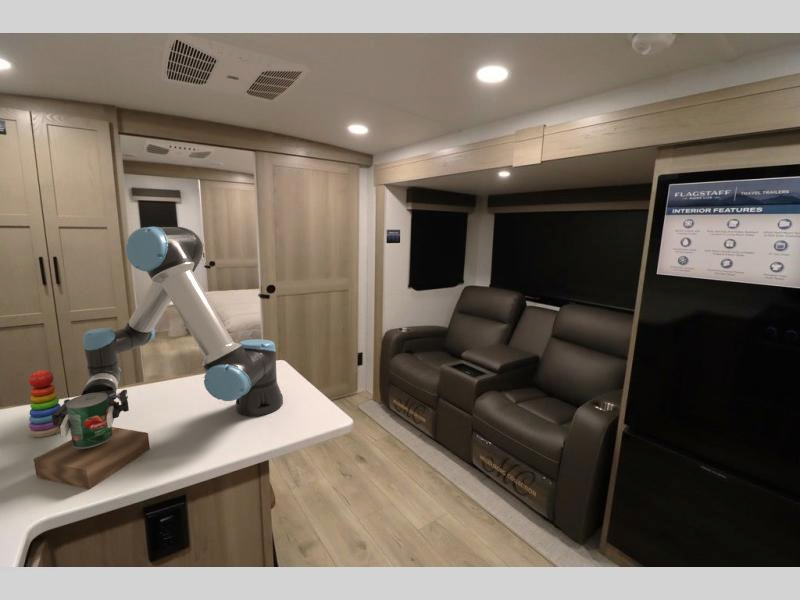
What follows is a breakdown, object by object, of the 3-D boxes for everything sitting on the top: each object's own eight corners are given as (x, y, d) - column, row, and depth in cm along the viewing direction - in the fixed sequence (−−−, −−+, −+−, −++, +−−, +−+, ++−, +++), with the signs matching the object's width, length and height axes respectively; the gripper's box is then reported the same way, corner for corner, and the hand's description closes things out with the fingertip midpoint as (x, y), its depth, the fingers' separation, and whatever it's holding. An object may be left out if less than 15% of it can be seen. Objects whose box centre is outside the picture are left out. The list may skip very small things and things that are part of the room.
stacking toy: (32, 442, 102) (20, 379, 99) (27, 432, 107) (15, 371, 103) (69, 430, 109) (59, 370, 105) (63, 421, 113) (53, 364, 110)
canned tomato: (104, 446, 90) (98, 405, 88) (65, 451, 88) (58, 409, 86) (118, 429, 98) (113, 391, 96) (82, 433, 96) (76, 394, 93)
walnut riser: (150, 449, 100) (148, 432, 99) (89, 489, 85) (86, 470, 84) (103, 440, 104) (100, 424, 103) (36, 477, 88) (33, 459, 87)
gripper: (144, 394, 113) (140, 429, 94) (54, 411, 102) (30, 454, 83) (142, 371, 111) (137, 402, 92) (50, 385, 100) (24, 423, 82)
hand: (86, 426), depth 88 cm, fingers closed on canned tomato, 8 cm apart
